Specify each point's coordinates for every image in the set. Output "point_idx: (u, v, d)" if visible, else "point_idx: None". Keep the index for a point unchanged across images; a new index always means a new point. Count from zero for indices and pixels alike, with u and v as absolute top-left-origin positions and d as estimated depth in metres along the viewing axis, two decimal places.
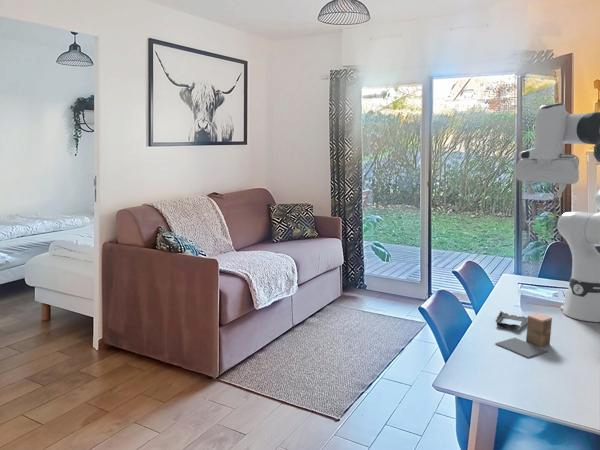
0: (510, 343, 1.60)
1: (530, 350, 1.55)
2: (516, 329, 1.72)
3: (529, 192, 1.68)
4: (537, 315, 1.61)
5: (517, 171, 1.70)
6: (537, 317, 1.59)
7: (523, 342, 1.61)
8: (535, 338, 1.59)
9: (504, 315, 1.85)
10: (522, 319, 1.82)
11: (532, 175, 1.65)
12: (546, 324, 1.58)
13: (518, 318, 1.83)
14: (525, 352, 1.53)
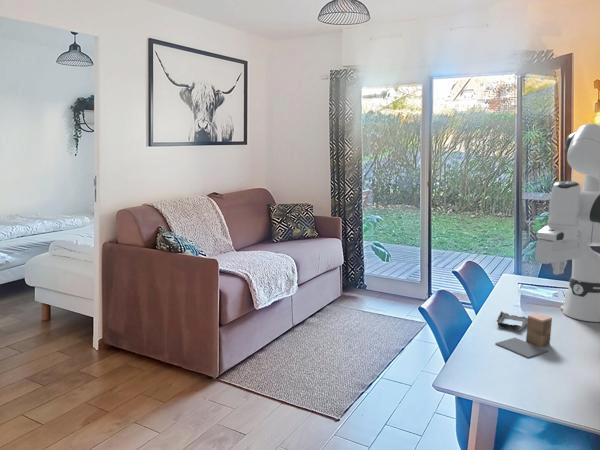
0: (510, 343, 1.60)
1: (530, 350, 1.55)
2: (517, 329, 1.71)
3: (559, 272, 1.60)
4: (537, 315, 1.61)
5: (548, 255, 1.54)
6: (537, 317, 1.59)
7: (523, 342, 1.61)
8: (535, 338, 1.59)
9: (505, 315, 1.85)
10: (523, 319, 1.82)
11: (558, 256, 1.57)
12: (546, 324, 1.58)
13: (519, 318, 1.82)
14: (525, 352, 1.53)
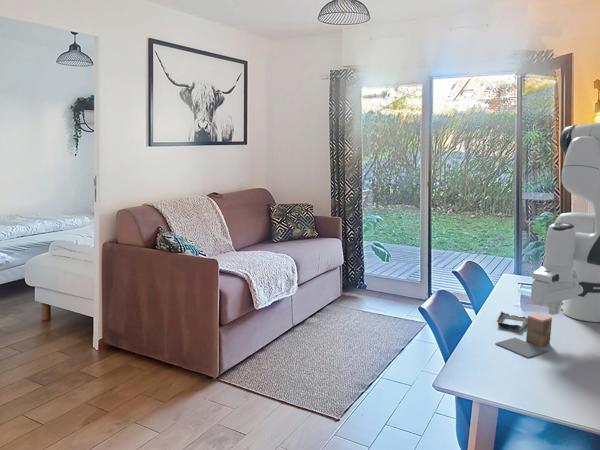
0: (510, 343, 1.60)
1: (530, 350, 1.55)
2: (518, 329, 1.71)
3: (554, 312, 1.62)
4: (537, 315, 1.61)
5: (543, 296, 1.56)
6: (537, 317, 1.59)
7: (523, 342, 1.61)
8: (535, 338, 1.59)
9: (505, 315, 1.85)
10: (523, 319, 1.82)
11: (554, 297, 1.59)
12: (546, 324, 1.58)
13: (519, 318, 1.82)
14: (525, 352, 1.53)
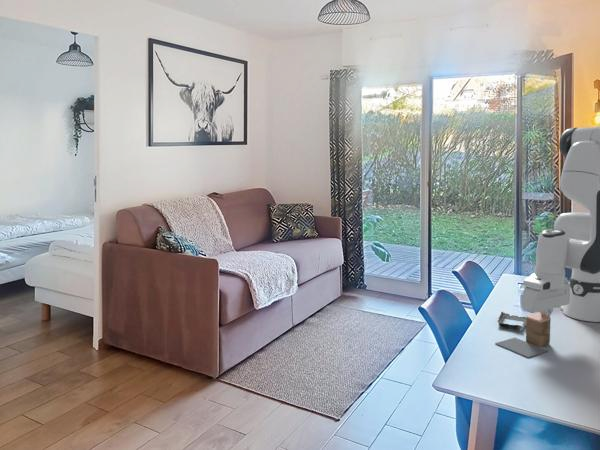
0: (510, 343, 1.60)
1: (530, 350, 1.55)
2: (518, 330, 1.71)
3: None
4: (535, 315, 1.61)
5: (534, 304, 1.54)
6: (535, 318, 1.59)
7: (523, 342, 1.61)
8: (535, 339, 1.59)
9: (505, 315, 1.85)
10: (523, 319, 1.82)
11: (545, 305, 1.57)
12: (545, 324, 1.58)
13: (519, 318, 1.82)
14: (525, 352, 1.53)
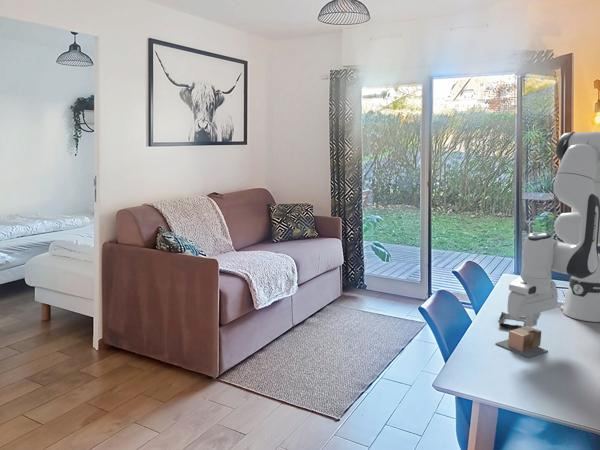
0: None
1: (530, 350, 1.55)
2: None
3: (532, 324, 1.57)
4: (512, 338, 1.57)
5: (520, 309, 1.51)
6: (515, 345, 1.56)
7: None
8: None
9: (506, 316, 1.85)
10: (524, 319, 1.81)
11: (531, 309, 1.54)
12: (525, 343, 1.54)
13: (520, 318, 1.82)
14: (525, 352, 1.53)
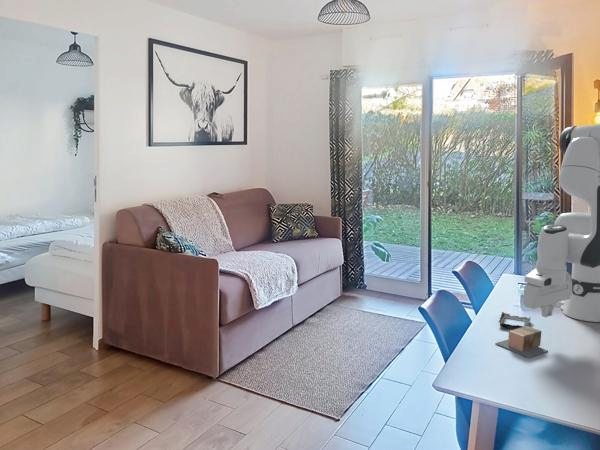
0: None
1: (530, 350, 1.55)
2: None
3: (547, 315, 1.61)
4: (512, 338, 1.57)
5: (536, 300, 1.55)
6: (515, 345, 1.56)
7: None
8: None
9: (506, 316, 1.85)
10: (524, 320, 1.81)
11: (546, 300, 1.58)
12: (525, 343, 1.54)
13: (520, 319, 1.82)
14: (525, 352, 1.53)
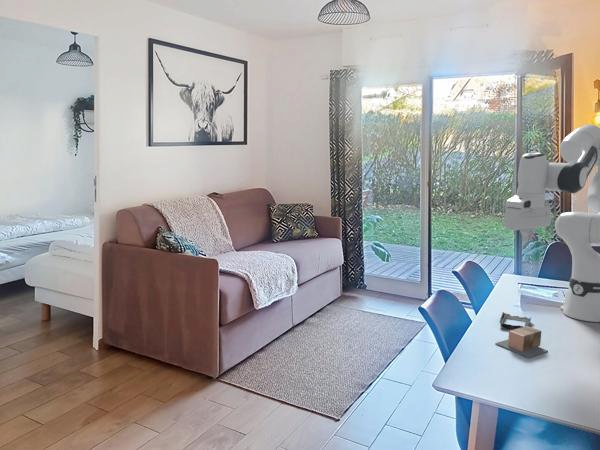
0: None
1: (530, 350, 1.55)
2: None
3: (527, 239, 1.69)
4: (512, 338, 1.57)
5: (516, 221, 1.63)
6: (515, 345, 1.56)
7: None
8: None
9: (506, 316, 1.85)
10: (525, 320, 1.81)
11: (526, 224, 1.66)
12: (525, 343, 1.54)
13: (521, 319, 1.82)
14: (525, 352, 1.53)
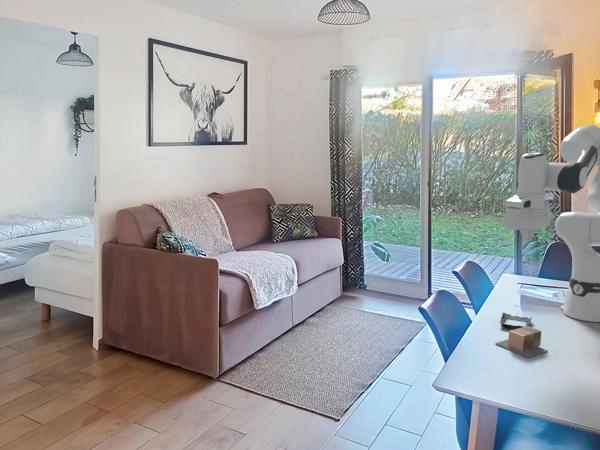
0: None
1: (530, 350, 1.55)
2: None
3: (527, 239, 1.69)
4: (512, 338, 1.57)
5: (516, 221, 1.63)
6: (515, 345, 1.56)
7: None
8: None
9: (507, 316, 1.84)
10: (525, 320, 1.81)
11: (526, 223, 1.66)
12: (525, 343, 1.54)
13: (521, 319, 1.82)
14: (525, 352, 1.53)
